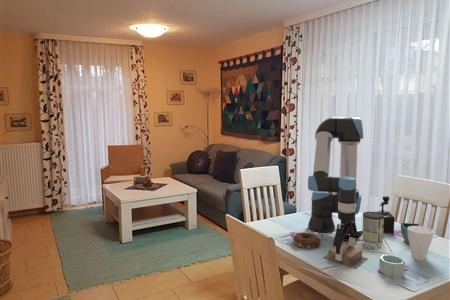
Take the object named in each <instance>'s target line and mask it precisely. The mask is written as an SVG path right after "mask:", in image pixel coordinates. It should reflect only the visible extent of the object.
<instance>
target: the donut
mask: <svg viewBox="0 0 450 300" xmlns="http://www.w3.org/2000/svg"><path fill="white" fill-rule="evenodd" d="M292 239H293V240H292V242H293V243H294V244H295V245H296V246H297V247H299V246H300V247H299V248H301V247H303V248H302V249H315V248H317V247H319V246H320V244H321V238H320V237H319V236H318V235H317V234H315V233H311V232H297V233H296V234H295V235H294V236H293V238H292Z"/></svg>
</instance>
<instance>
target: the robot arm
mask: <svg viewBox="0 0 450 300" xmlns="http://www.w3.org/2000/svg"><path fill="white" fill-rule="evenodd" d="M363 129H364V128H363V121H362V119H361V117H357V116H355V117H354V116H350V117H347V116H346V117H344V116H343V117H341V116H339V117H335V116H334V117H329V118H327V119H325V120H324V121H322V122H321V123H320V124H319V125H318V127H317V128H316V130H315V134H314V139H315V141H316V142H315V153H314V163H313V171H312V175H309V176H308V178H307V189H308V190H309V191H311V192H312V193H311V214H310V215H311V216H310V219H309V221H308V223H307V225H308V226H307V229H308V230H309V231H311V232H312V231H313V233H316V234H332V233H334V232H335V234H334V240H333V243H332V246H333V247H335V246H336V255H335V260H339V261H342V247H341V245H342V244H343V242H344V239H345V237H346V235H347V233H348V235H349V237H348V246H351V247H354V248H356V239H358V237H359V236H358V235H359V232H358V229H357V224H356V215H358V214H359V213H360V209H361V203H362V194H361V193H360V190H359V188H357V185H358V184H357V170H358V169H357V168H358V167H357V166H358V145H359V144H360V143H361V140H363V139H364V130H363ZM334 139H337V141H338V143H339V144H340V165H339V166H340V169H339V176H329V172H330V159H331V158H330V157H331V145H332V144H331V143H332V142H333V140H334ZM333 214H337V219H338V220H340V223H337V224H336V225H335V221H334V219H333Z"/></svg>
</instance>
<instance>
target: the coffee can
mask: <svg viewBox="0 0 450 300" xmlns="http://www.w3.org/2000/svg"><path fill="white" fill-rule="evenodd" d="M383 224H384V215H383V214H381V213H378V211H364V212H362V232H361V233H362V237H361V240H362V241H364V242H366V243H368V244H376V245H377V244H378V245H379V244H382V243H383V242H384V233H383Z"/></svg>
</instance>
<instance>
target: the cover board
mask: <svg viewBox="0 0 450 300" xmlns="http://www.w3.org/2000/svg"><path fill="white" fill-rule="evenodd" d="M341 247H342V261H339V260H335V255H336V246H333V247H332V248H330V249H328V254H329V259H332V260H335V261H338V262H341V263H344V264H347V265H350V266H352V265H354V264H355V263H356V262H357V261H359V260H360V259H361V258H362V257H363V249H362V248H357V247H355V248H354V247H351V246H349V245H346V244H343V243H342V245H341Z"/></svg>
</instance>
